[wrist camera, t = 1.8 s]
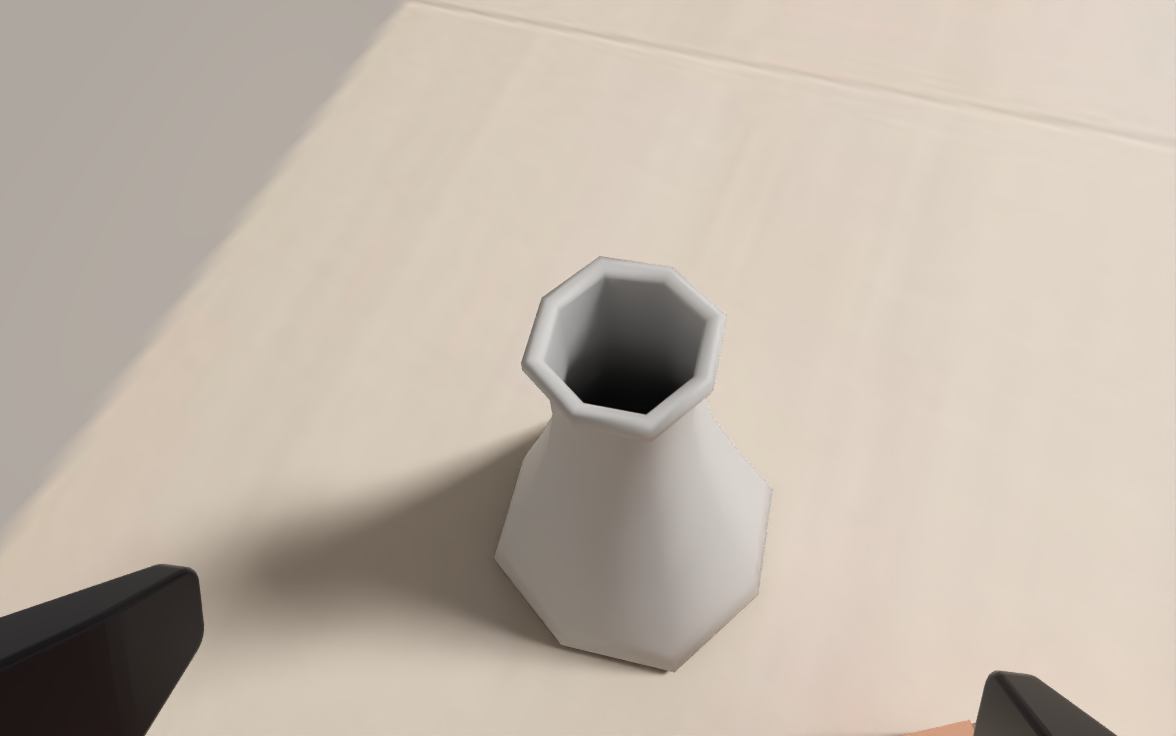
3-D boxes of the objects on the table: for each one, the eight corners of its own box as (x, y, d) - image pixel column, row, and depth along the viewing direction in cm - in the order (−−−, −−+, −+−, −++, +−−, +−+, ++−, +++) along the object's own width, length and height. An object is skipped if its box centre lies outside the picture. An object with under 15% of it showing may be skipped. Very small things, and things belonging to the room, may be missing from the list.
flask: (448, 573, 21) (306, 412, 12) (591, 366, 24) (557, 114, 15) (689, 728, 19) (722, 668, 10) (816, 481, 22) (929, 266, 13)
